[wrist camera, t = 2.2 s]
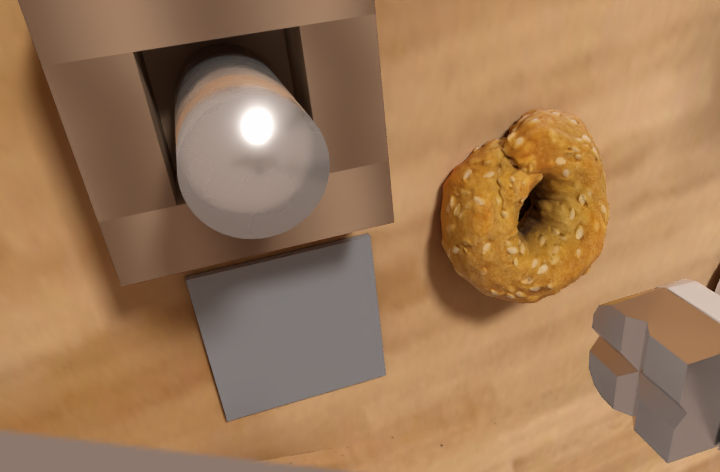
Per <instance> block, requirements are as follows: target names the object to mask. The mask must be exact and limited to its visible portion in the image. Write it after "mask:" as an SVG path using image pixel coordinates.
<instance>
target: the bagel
mask: <svg viewBox="0 0 720 472" xmlns="http://www.w3.org/2000/svg"><path fill="white" fill-rule="evenodd" d="M605 179H606V178H605V172H604V170H603V167H602V163H601V158H600V156H599V150H598V148H597V147H596V145H595V143H594V141H593V139H592V136H591V134H590V133H589V132H588V130H587V128H586V126H585V124H584V123H583V122H582V120H581V119H580V118H579V117H577V116H576V115H573V114H570V113H565V112H560V111H559V110H558V109H556V110H552V109H546V110H543V109H534V110H531V111H529V112H527V113H525V114H524V115H522V116H521V118H520V119H519V120H518V121H517V123H516V124H514V125H513V126H511V127H510V130H509V135H508V137H504V138H502V139H494V140H492V141H488V142H486V143H485V144H484V146H483V147H476V148H475V149H474V150H473V153H472V154H471V155H470V156H469V157H468V158H467V159H466V160H465V161H464V162H463V163H462V164H460V165H458V166H456V167H455V168H454V170H453V171H452V173H451V175H450V176H449V177H448V178H447V180H446V181H445V183H444V185H443V198H442V204H441V206H442V208H441V229H442V246H443V248H444V249H445V252H446V254H447V256H448V258H449V260H450V261H451V262H452V264H453V266H454V267H453V268H454V270H455V271H456V272H457V274H459V275H460V276H461V277H462V278H464V279H465V280H467V281H468V282H469V283H471V284H472V285H473V286H474V287H475V288H476V289H477V290H479V291H480V292H481V293H483V294H484V295H487V296H492V297H496V298H498V299H502V300H505V301H512V302H519V303H535V302H538V301H540V300H541V299H542V298H544V297H547V296H550V295H555V294H557V293H558V292H560V290H561V289H563V288H565V287H567V286H568V285H569V284H571V283H573V282H575V281H576V280H577V279H578V278H579V277H580V276H581V275H585V274H586V273H588V272H589V271H590V268H591V264H592V263H593V262H594V261H595V260H596V259H597V258H598V257H599V255H600V253H601V251H602V248H603V242H604V238H605V235H606V230H607V224H608V220H609V204H608V202H607V198H606V180H605ZM528 194H529V197H530V199H531V206H530V208H529V209H528V210H527V211H526V212H525V213H524V216H523V217H522V219H521V220H520V221H518V218H519V211H520V209H521V207H522V206H523V203H524V200H525V199H526V198H527V196H528Z"/></svg>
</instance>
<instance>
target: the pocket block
mask: <svg viewBox="0 0 720 472" xmlns="http://www.w3.org/2000/svg"><path fill="white" fill-rule="evenodd" d="M18 2H19V5H20V7H21V10H22V13H23V16H24V19H25V21H26V24H27V27H28V30H29V32H30V35H31V38H32V41H33V43H34V46H35V49H36V52H37V54H38V57H39V60H40V63H41V66H42V68H43V71H44V74H45V77H46V79H47V82H48V85H49V88H50V90H51V93H52V96H53V99H54V101H55V104H56V107H57V110H58V113H59V115H60V118H61V121H62V124H63V126H64V129H65V132H66V135H67V137H68V140H69V143H70V146H71V148H72V151H73V154H74V157H75V160H76V162H77V165H78V168H79V171H80V173H81V176H82V179H83V182H84V184H85V187H86V190H87V193H88V195H89V198H90V201H91V204H92V207H93V209H94V212H95V215H96V218H97V220H98V223H99V226H100V229H101V231H102V234H103V237H104V240H105V243H106V245H107V248H108V251H109V254H110V256H111V259H112V262H113V265H114V267H115V270H116V273H117V276H118V278H119V281H120V284H121V287H122V286H126V285H130V284H135V283H139V282H143V281H147V280H152V279H156V278H160V277H164V276H169V275H173V274H177V273H181V272H186V271H190V270H194V269H198V268H203V267H207V266H211V265H215V264H220V263H224V262H228V261H232V260H237V259H241V258H245V257H249V256H254V255H258V254H262V253H266V252H271V251H275V250H279V249H283V248H288V247H292V246H296V245H300V244H305V243H309V242H313V241H317V240H322V239H326V238H330V237H334V236H339V235H343V234H347V233H351V232H356V231H360V230H364V229H368V228H373V227H377V226H381V225H385V224H390V223H394V215H393V203H392V192H391V181H390V169H389V158H388V147H387V136H386V124H385V113H384V102H383V90H382V79H381V68H380V57H379V45H378V34H377V23H376V11H375V0H18ZM220 43H227V44H234V45H238V46H241V47H244V48H246V49H248V50H250V51H252V52H253V53H255V54H256V55H257V56H259V57H260V58H261V59H262V60H263V61H264V62H265V64H266V65H267V66H268V67H269V68H270V70H271V71H272V72H273V73H274V74H275V76H276V77H277V78H278V79H279V80H280V82H281V83H282V84H283V85H284V86H285V88H286V89H287V90H288V91H289V92H290V94H291V95H292V96H293V97H294V98H295V100H296V101H297V102H298V103H299V104H300V106H301V107H302V108H303V109H304V110H305V112H306V113H307V114H308V115H309V116H310V118H311V119H312V120H313V121H314V122H315V124H316V125H317V127H318V128H319V130H320V131H321V133H322V135H323V137H324V139H325V142H326V145H327V148H328V153H329V161H330V170H329V178H328V183H327V186H326V189H325V192H324V194H323V196H322V198H321V200H320V202H319V203H318V205H317V206H316V208H315V209H314V210H313V211H312V212H311V214H310V215H309V216H308V217H307V218H305V219H304V220H303V221H302V222H301V223H299V224H298V225H297V226H295V227H293V228H292V229H290V230H288V231H286V232H283V233H281V234H279V235H275V236H272V237H267V238H261V239H241V238H236V237H231V236H228V235H225V234H222V233H220V232H218V231H216V230H214V229H212V228H210V227H209V226H207V225H206V224H205V223H203V222H202V221H201V220H200V219H199V218H198V217H197V216H196V215H195V214H194V213H193V212H192V211H191V209H190V208H189V206H188V205H187V203H186V201H185V200H184V198H183V196H182V193H181V190H180V187H179V183H178V178H177V159H176V137H175V114H174V83H175V79H176V76H177V73H178V71H179V69H180V67H181V66H182V64H183V63H184V62H185V60H186V59H187V58H188V57H189V56H190V55H192V54H193V53H194V52H196V51H197V50H199V49H201V48H203V47H206V46H208V45H213V44H220Z"/></svg>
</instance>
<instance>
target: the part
mask: <svg viewBox="0 0 720 472" xmlns="http://www.w3.org/2000/svg"><path fill="white" fill-rule="evenodd" d="M174 114H175V137H176V159H177V178H178V183H179V187H180V190H181V193H182V196H183V198H184V200H185V201H186V203H187V205H188V206H189V208H190V209H191V211H192V212H193V213H194V214H195V215H196V216H197V217H198V218H199V219H200V220H201V221H202V222H203V223H205V224H206V225H207V226H209V227H210V228H212V229H214V230H216V231H218V232H220V233H222V234H225V235H228V236H231V237H236V238H241V239H261V238H267V237H272V236H275V235H279V234H281V233H283V232H286V231H288V230H290V229H292V228H293V227H295V226H297V225H298V224H299V223H301V222H302V221H303V220H304V219H305V218H307V217H308V216H309V215H310V214H311V212H312V211H313V210H314V209H315V208H316V206H317V205H318V203H319V202H320V200H321V198H322V196H323V194H324V192H325V189H326V186H327V183H328V178H329V170H330V161H329V153H328V148H327V145H326V142H325V139H324V137H323V135H322V133H321V131H320V130H319V128H318V127H317V125H316V124H315V122H314V121H313V120H312V119H311V118H310V116H309V115H308V114H307V113H306V112H305V110H304V109H303V108H302V107H301V106H300V104H299V103H298V102H297V101H296V100H295V98H294V97H293V96H292V95H291V94H290V92H289V91H288V90H287V89H286V88H285V86H284V85H283V84H282V83H281V82H280V80H279V79H278V78H277V77H276V76H275V74H274V73H273V72H272V71H271V70H270V68H269V67H268V66H267V65H266V64H265V62H264V61H263V60H262V59H261V58H260V57H259V56H257V55H256V54H255V53H253V52H252V51H250V50H248V49H246V48H244V47H241V46H238V45H234V44H227V43H220V44H213V45H208V46H206V47H203V48H201V49H199V50H197V51H196V52H194V53H193V54H192V55H190V56H189V57H188V58H187V59H186V60H185V62H184V63H183V64H182V66H181V67H180V69H179V71H178V73H177V76H176V79H175V83H174Z"/></svg>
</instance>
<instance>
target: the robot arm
mask: <svg viewBox="0 0 720 472" xmlns="http://www.w3.org/2000/svg"><path fill="white" fill-rule="evenodd" d="M592 328H593V329H594V330H595V332H596V333H597V334H598V335H599V338H598V339H597V341H596V342H595V344H594V345H593V347H592V348H591V349H590V354H589V370H590V373H591V376H592V380H593V383H594V385H595V387H596V388H597V390H598V392H599V393H600V395H601V396H602V398H603V399H604V400H605V401H606V402H607V403H608V404H609V405H610V406H611V407H612V408H613V409H615V410H617V411H620V412H623V413H625V414H628V415H630V416H632V417H633V425H634V430H635V431H636V432H637V433H638V434H639V435H640V436H641V437H642V438H643V439H644V440H645V441H646V442H647V443H648V444H649V445H650V446H651V447H652V448H653V449H654V450H655V451H656V452H657V453H658V454H659V455H660V456H661V457H662V458H663V459H664V460H665V461H666V462H667V463H670V462H673V461H676V460H679V459H682V458H685V457H688V456H691V455H694V454H696V453H699V452H702V451H705V450H708V449H711V448H714V447H717V446H719V448H718V450H720V280H719V282H718V284H717V287H716V289H715V292H713V291H711V290H710V289H708V288H706V287H705V286H703V285H702V284H700V283H698V282H697V281H693V280H689V279H681V280H677V281H674V282H671V283H668V284H665V285H662V286H658V287H656V288H654V289H650V290H647V291H644V292H640V293H637V294H634V295H631V296H627V297H624V298H621V299H618V300H614V301H611V302H608V303H605V304H601V305H599V306H598V308H597V309H596V311H595V313H594V315H593V324H592Z"/></svg>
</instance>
